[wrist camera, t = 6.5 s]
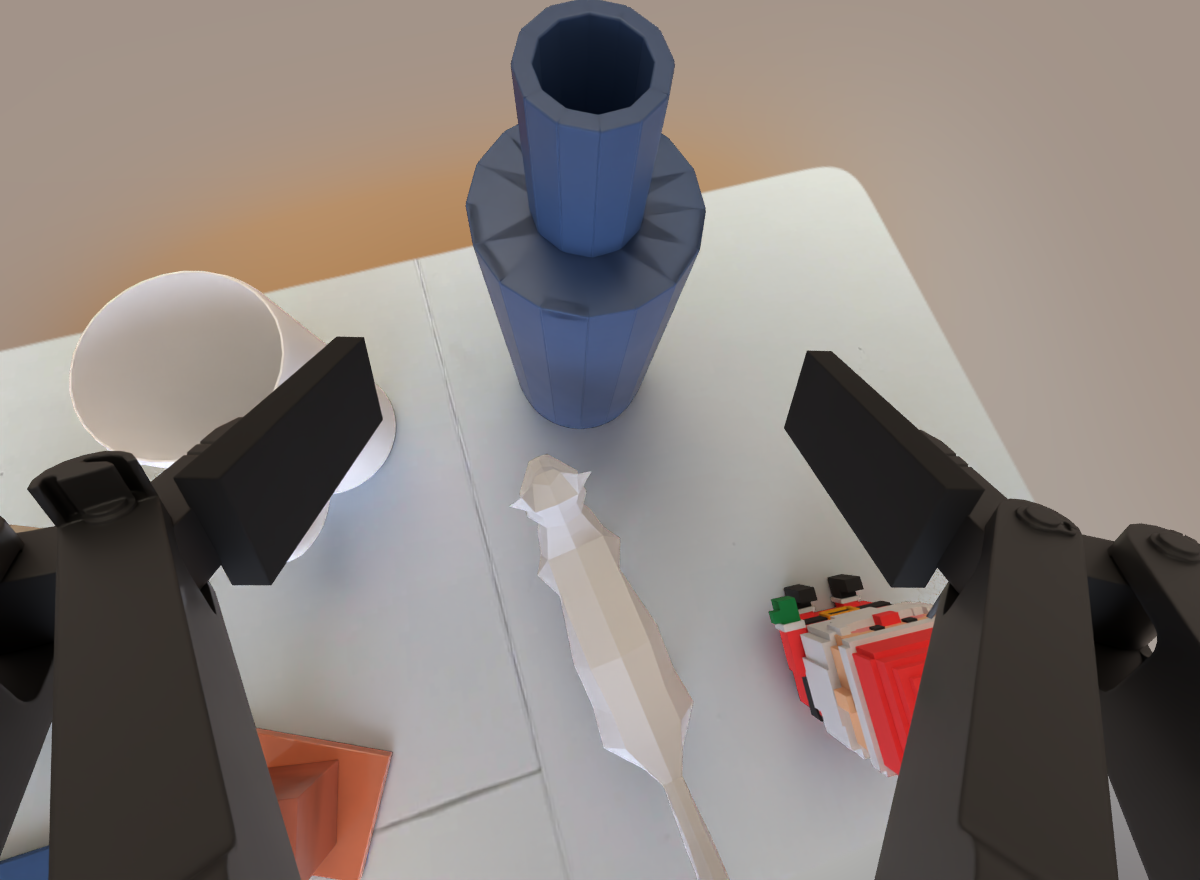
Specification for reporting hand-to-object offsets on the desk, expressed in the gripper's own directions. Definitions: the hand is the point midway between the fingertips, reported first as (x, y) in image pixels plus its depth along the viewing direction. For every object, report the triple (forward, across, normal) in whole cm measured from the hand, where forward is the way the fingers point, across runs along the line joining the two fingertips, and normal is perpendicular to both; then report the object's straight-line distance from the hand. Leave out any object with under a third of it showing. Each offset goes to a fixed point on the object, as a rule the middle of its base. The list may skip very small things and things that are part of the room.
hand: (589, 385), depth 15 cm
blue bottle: (+16, 0, -7) cm, 17 cm away
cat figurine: (+4, +2, -19) cm, 19 cm away
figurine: (+4, +15, -19) cm, 25 cm away
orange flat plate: (-2, -15, -24) cm, 29 cm away
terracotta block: (-2, -15, -24) cm, 28 cm away
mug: (+12, -16, -12) cm, 23 cm away
